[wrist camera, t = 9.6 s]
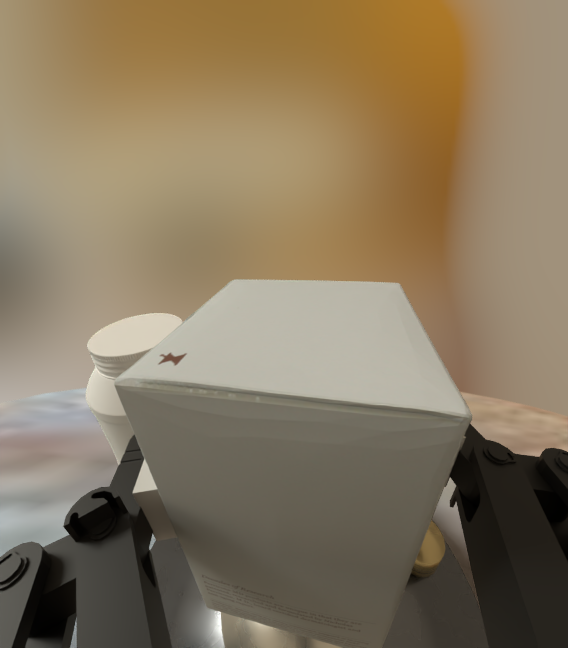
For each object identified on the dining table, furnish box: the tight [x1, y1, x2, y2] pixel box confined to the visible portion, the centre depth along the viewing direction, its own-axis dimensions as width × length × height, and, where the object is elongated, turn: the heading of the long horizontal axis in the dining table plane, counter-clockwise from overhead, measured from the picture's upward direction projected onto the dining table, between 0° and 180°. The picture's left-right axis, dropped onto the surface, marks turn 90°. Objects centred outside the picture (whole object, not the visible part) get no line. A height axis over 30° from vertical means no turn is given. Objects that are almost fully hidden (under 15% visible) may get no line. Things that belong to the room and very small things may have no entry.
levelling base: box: [150, 520, 489, 648], centre depth 18 cm, size 22×22×6 cm
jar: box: [86, 313, 183, 465], centre depth 29 cm, size 12×10×15 cm
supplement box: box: [114, 280, 472, 648], centre depth 11 cm, size 7×7×13 cm
